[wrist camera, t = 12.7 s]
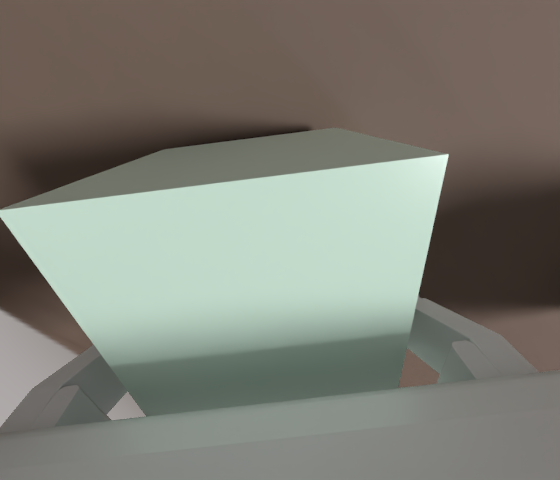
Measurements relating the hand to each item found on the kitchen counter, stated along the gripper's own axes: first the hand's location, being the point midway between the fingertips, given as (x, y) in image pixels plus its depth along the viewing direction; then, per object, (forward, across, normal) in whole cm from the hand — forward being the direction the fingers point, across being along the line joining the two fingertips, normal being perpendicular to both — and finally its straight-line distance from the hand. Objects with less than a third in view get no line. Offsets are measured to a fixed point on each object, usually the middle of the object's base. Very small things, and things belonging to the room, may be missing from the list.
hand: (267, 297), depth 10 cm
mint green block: (+4, 0, 0) cm, 4 cm away
